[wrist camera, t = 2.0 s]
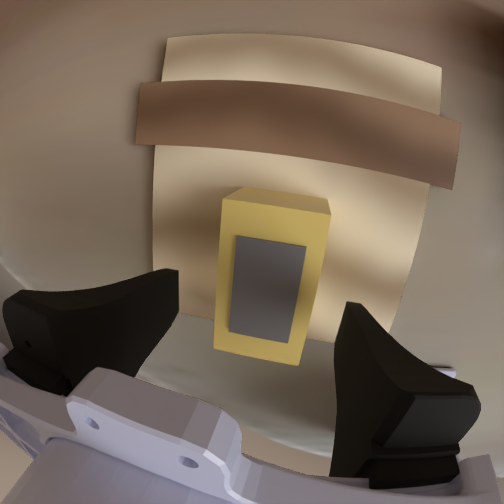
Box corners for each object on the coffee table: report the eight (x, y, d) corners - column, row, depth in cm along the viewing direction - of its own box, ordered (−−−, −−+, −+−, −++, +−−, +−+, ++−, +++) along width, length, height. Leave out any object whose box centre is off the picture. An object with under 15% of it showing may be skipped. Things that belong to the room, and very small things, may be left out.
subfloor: (398, 342, 19) (401, 351, 18) (144, 294, 22) (137, 301, 21) (456, 79, 12) (463, 76, 11) (154, 44, 15) (147, 41, 14)
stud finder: (303, 325, 18) (298, 368, 15) (232, 311, 19) (212, 350, 15) (327, 199, 16) (331, 216, 12) (244, 186, 16) (221, 199, 12)
